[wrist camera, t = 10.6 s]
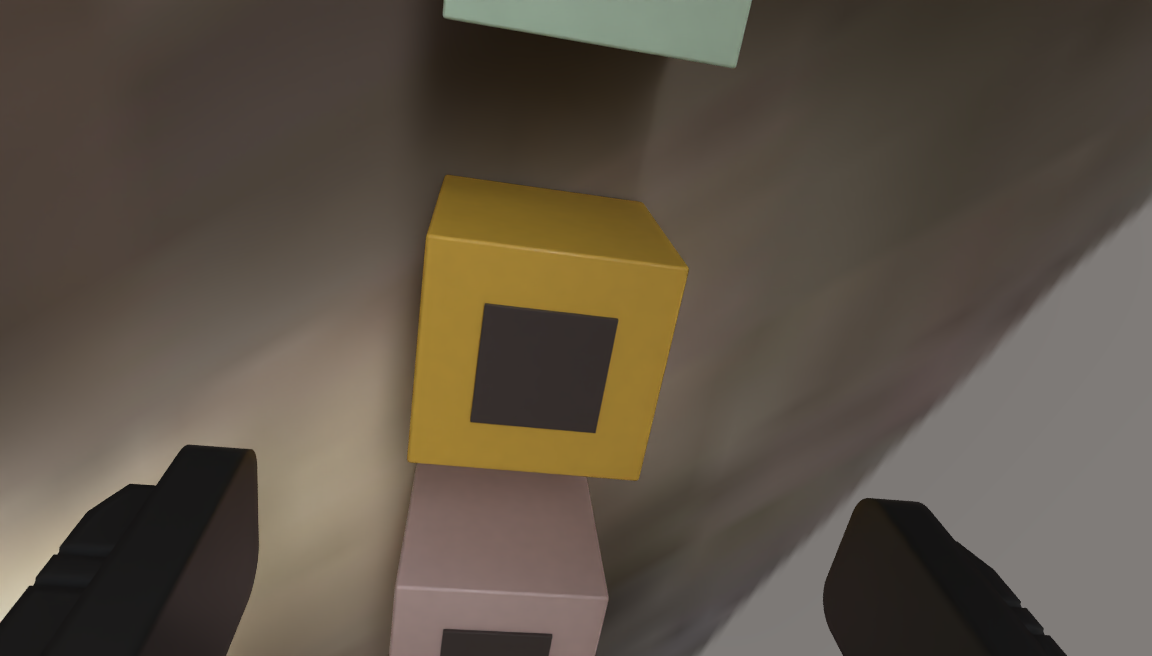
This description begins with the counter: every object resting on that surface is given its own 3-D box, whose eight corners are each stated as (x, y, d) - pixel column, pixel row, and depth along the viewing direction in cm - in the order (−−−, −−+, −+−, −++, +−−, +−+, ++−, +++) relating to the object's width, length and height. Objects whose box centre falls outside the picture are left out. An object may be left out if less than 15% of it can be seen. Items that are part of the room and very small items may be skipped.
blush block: (417, 459, 21) (394, 590, 16) (587, 473, 22) (610, 601, 17) (405, 591, 23) (381, 740, 18) (560, 599, 24) (576, 745, 19)
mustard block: (444, 173, 18) (425, 236, 13) (643, 201, 18) (692, 269, 14) (427, 356, 20) (405, 466, 15) (608, 374, 20) (639, 485, 16)
